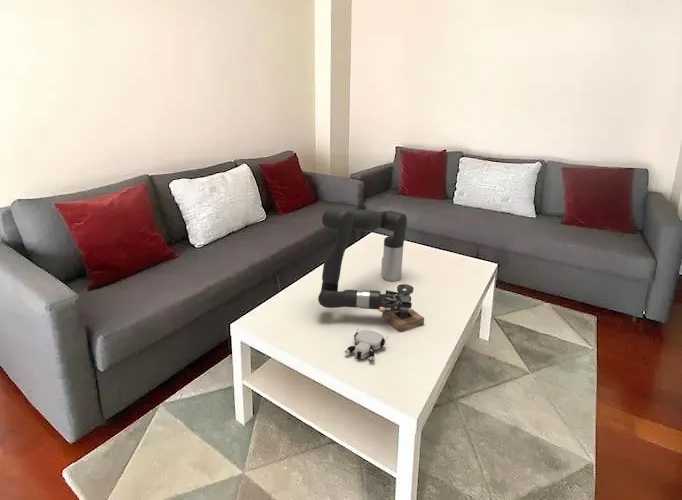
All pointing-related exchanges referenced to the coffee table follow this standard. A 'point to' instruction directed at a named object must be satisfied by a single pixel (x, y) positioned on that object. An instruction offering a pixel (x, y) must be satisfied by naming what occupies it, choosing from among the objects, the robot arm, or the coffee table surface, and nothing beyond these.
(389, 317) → the collar
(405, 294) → the peg
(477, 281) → the coffee table surface
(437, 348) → the coffee table surface
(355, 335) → the robot toy
